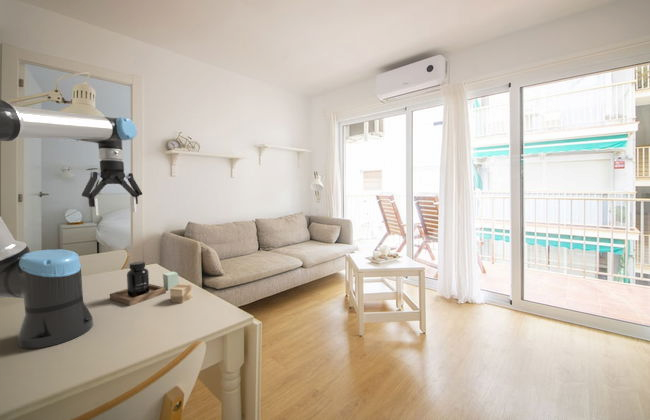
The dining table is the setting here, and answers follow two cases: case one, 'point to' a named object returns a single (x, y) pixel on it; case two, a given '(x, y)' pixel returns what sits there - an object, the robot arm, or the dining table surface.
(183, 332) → the dining table surface
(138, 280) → the supplement bottle
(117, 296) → the walnut tray
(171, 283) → the sage cube
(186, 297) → the oak block
